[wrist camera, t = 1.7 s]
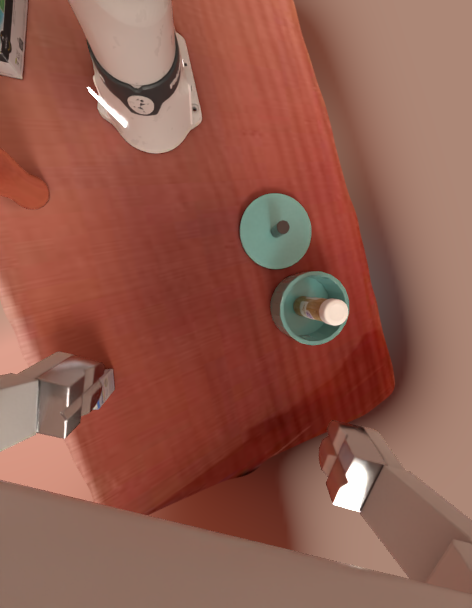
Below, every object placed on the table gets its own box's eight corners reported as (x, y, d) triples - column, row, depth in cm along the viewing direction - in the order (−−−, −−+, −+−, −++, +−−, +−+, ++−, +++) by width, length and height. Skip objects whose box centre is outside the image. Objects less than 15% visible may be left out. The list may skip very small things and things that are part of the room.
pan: (269, 273, 53) (279, 272, 46) (332, 272, 55) (349, 270, 49) (271, 340, 54) (280, 347, 47) (332, 336, 56) (349, 342, 50)
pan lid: (237, 194, 50) (242, 183, 45) (308, 196, 53) (320, 186, 48) (240, 270, 51) (244, 268, 46) (309, 268, 54) (321, 267, 49)
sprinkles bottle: (288, 307, 53) (319, 315, 40) (301, 291, 54) (335, 293, 40) (303, 320, 54) (338, 331, 41) (316, 304, 54) (354, 310, 41)
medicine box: (73, 394, 48) (46, 417, 39) (70, 372, 47) (42, 391, 39) (115, 388, 49) (99, 410, 41) (113, 367, 49) (95, 384, 40)
